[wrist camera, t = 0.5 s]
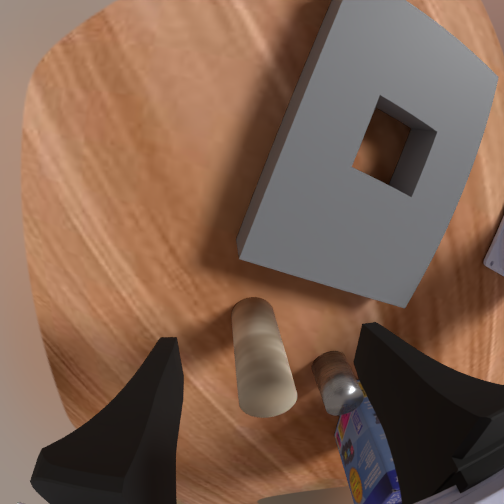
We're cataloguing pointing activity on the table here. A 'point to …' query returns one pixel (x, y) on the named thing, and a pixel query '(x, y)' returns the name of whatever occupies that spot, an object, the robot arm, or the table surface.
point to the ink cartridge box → (367, 456)
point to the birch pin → (261, 360)
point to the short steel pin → (337, 383)
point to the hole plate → (347, 145)
